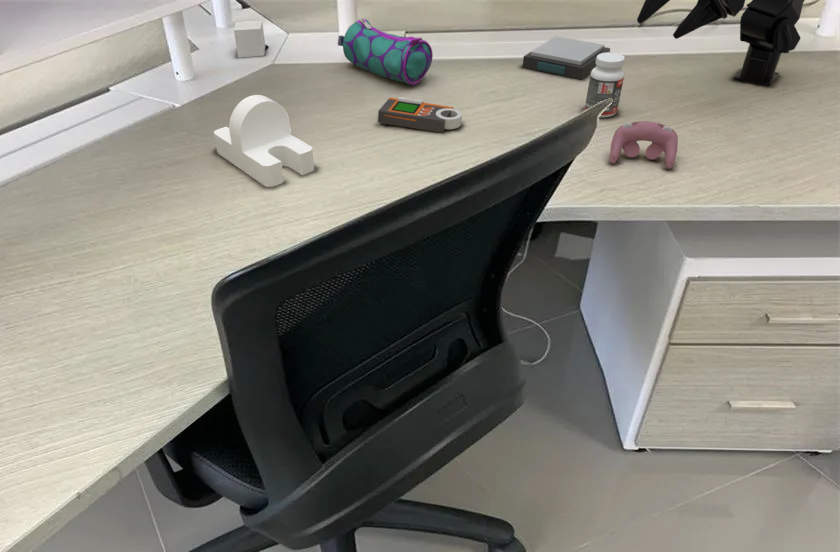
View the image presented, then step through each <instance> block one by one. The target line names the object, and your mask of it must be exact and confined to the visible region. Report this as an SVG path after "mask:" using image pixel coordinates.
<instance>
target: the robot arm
mask: <svg viewBox="0 0 840 552" xmlns="http://www.w3.org/2000/svg"><path fill="white" fill-rule="evenodd" d="M670 1H671V0H644V3H643V5H642V7H641V9H640V12H639V14H638V16H637V18H636V22H637V23H638V24H639V25H642V24H643V23H645V22H646V21H647V20H648V19H650V18H651V17H653V15H655V13H657V12H658V11H659V10H660V9H661V8H663V7H664V6H665V5H666V4H668V3H669V2H670ZM805 1H806V0H751V1H750V2H749V3H747V4H746V5H745V2H746V0H697V1H696V4H695V6H694V7H693V8H692V9H691V11H690V12H689V13H688V14H687V15H686V17H685V18H684V19H683V20H682V21H681V23H680V24H679V25H678V27H677V28H676V29H675V30H674V32H673V34H672V36H673V39H675V40H677V39H680V38H682V37H684V36H686V35H688V34H690V33H692V32H695V31H696V30H698V29H700V28H702V27H704V26H707V25H708V24H709V25H710V24H711V23H714V22H715V21H718V20H720V19H724V20H726V19H727V18H728V17H730V16H731V17H737V15H738V14H739V13H740V12H741V11H742V10H743V8H744V6H746V8H745V10H744V11H743V13H742V14H741V16H740V21H739V41H740V42H744V43H747V44H748V48H747V50H746V53H745V56H744V60H743V63H742V66H741V69H740V70H739V71H738V72H736V74H735V75H734V76H733V80H734V81H739V82H743V83H750V84H755V85H762V86H767V87H769V86H771V85H772V84H773V83H774V81H775V80H776V79H777V78H778V77H779V75H780V73H779V72H776V70H777V68H778V64H779V62H780V58H781V56H782V54H789V53H790V51H794V50H795V49H796V47H797V45H798V44H799V43H800V40H801V35H800V34H799V32H798V30H797V27H796V26H795V25H796V24H797V23H798V21H799V20H800V18H801V14H802V11H803V6H804V2H805Z"/></svg>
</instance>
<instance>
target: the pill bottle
mask: <svg viewBox="0 0 840 552" xmlns="http://www.w3.org/2000/svg"><path fill="white" fill-rule="evenodd" d="M625 60H626V56H625V55H624V54H621V53H619V52H611V51H610V52H607V53H601V54H599V55H597V58H596V65H597V66H596V67H595V68H594V69H593V70H592V71H591V73H590V74H589V80H588V86H587V93H586V98H585V104H584V111H585V110H586V109H588V108H590V107H591V106H593V105H595V104H597V103H598V102H600V101H603V100H605V99H608V98H612V99H613V102H612V104H611V105H610V106H609V107H607V109H606V110H605V111H604V112H603V113H602V114H601V116H600V117H599V118H601V119H603V118H611V117H614V116H615V115H616V114H617V112H618V109H619V104H620V99H621V94H622V90H623V84H624V80H625V71H624V69H623V68H622V67H623V66H624V65H625Z"/></svg>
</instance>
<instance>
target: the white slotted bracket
mask: <svg viewBox="0 0 840 552" xmlns="http://www.w3.org/2000/svg"><path fill="white" fill-rule="evenodd" d="M290 120H291V119H290V117H289V114H288V112H287V110H286V109H285V107H283V105H281V104H280V103H278V102H276V101H275V100H273V99H271V98H269V97H268V96H265V95H261V94H254V95H253V94H252V95H249V96H247V97H245V98H243V99H242V100H240V102H238V103H237V105H235V108H234V109H233V111H232V113H231V115H230V119H229V124H228V126H224V127H221V128H217V129H215V130H214V131H213V136H214V141H215V149H216V153H217V154H218V155H219V156H221V157H222V158H224V159H225V160H227V162H230V163H231V164H232V165H234V166H235V167H236V168H238V169H239V170H240V171H242V172H243V173H245V174H247V176H250V177H251V178H252V179H254V180H255V181H257V182H258V183H260V184H261V185H263V186H264V187H266V188H274V187H276V186H278V185H281V184H284V183H285V181H284V172H283V167H286V168H290V169H291V170H293V171H294V172H296V173H297V174H299V175H301V176H304V175H307V174H309V173H311V172H314V171H315V162H314V150H313V149H314V148H313V147H312V146H311V145H310V144H308V143H306V142H304V141H302V140H301V139H299V138H297V137H296V136H294V135H292V131H291V121H290Z"/></svg>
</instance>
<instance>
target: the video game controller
mask: <svg viewBox="0 0 840 552" xmlns="http://www.w3.org/2000/svg"><path fill="white" fill-rule="evenodd" d="M640 141H641V142H642V141H643V142H651V144H649V145H648V146H647V148H646V149H645V157H646V158H647V159H648V160H652V161H653V160H657V158H659V157H660V155H661V154H662V153H664V156H665V157H664V158H665V161H664V162H665V168H666V169H667V170H671V169H673V166H674V165H675V161H676V158H677V154H678V144H679V143H678V141H679V138H678V134H677V132H676V131H675V130H674V129H673V128H672V127H671V126H669V125H666V124H663V123H660V122H656V121H649V120H647V121H646V120H644V121H643V120H642V121H639V120H638V121H633V122H626V123H624V124H622V125H620V126H619V127H617V129H616V130H615V132H614V133H613V136H612V139H611V144H610V149H609V150H610V151H609V161H610V163H611V164H612V165H614V164H616V162H617V161H618V160H619V158H620V154H621V150H623V152H624V154H625V156H626V157H628V158H635V157H637V156H638V155H639V153H640V152H641V148H640V145H639V143H638V142H640Z"/></svg>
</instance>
